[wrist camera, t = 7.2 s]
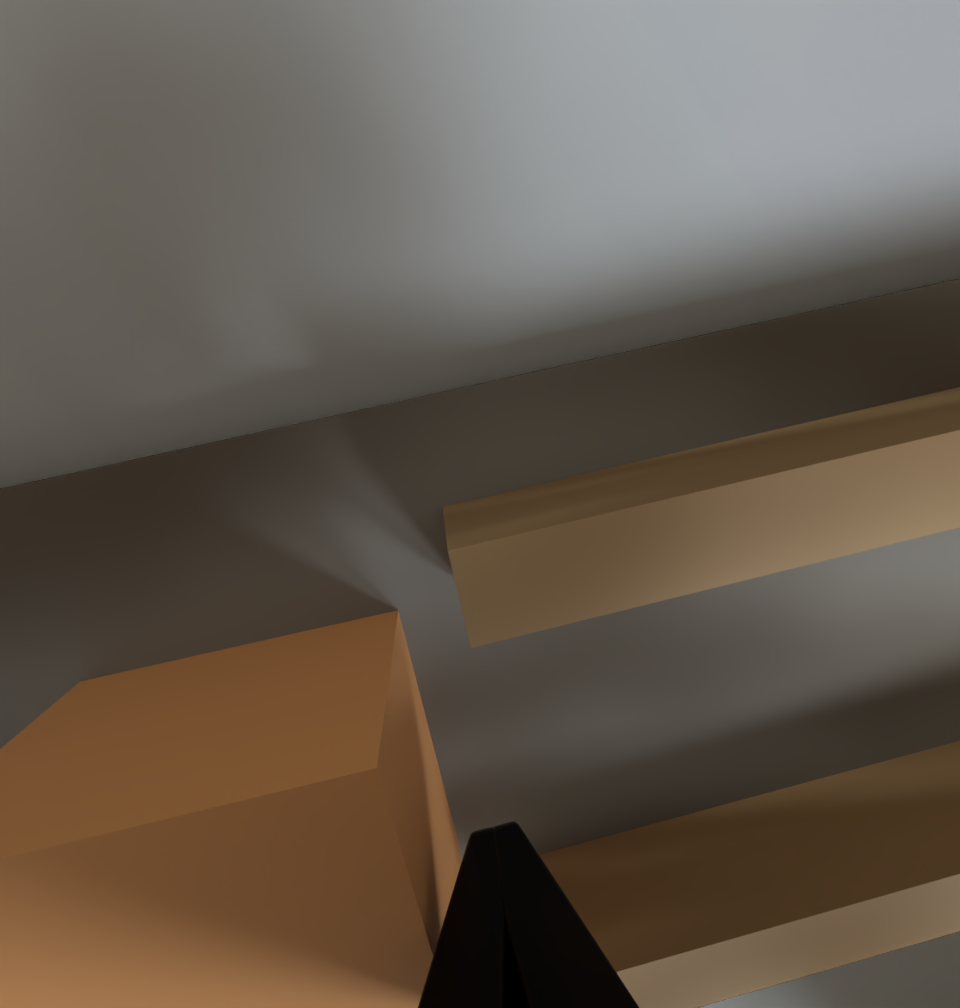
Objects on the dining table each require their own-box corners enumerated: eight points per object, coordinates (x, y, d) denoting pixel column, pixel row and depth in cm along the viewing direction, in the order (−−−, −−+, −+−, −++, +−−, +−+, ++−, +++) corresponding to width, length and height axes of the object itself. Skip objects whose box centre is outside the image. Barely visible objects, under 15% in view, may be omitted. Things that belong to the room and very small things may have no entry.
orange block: (460, 850, 11) (478, 1107, 7) (189, 919, 10) (50, 1229, 7) (398, 610, 9) (377, 767, 5) (80, 681, 9) (-182, 902, 5)
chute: (1258, 732, 14) (1509, 836, 11) (81, 1060, 12) (-43, 1301, 9) (1387, 184, 10) (1820, 93, 7) (-244, 542, 9) (-639, 633, 5)
